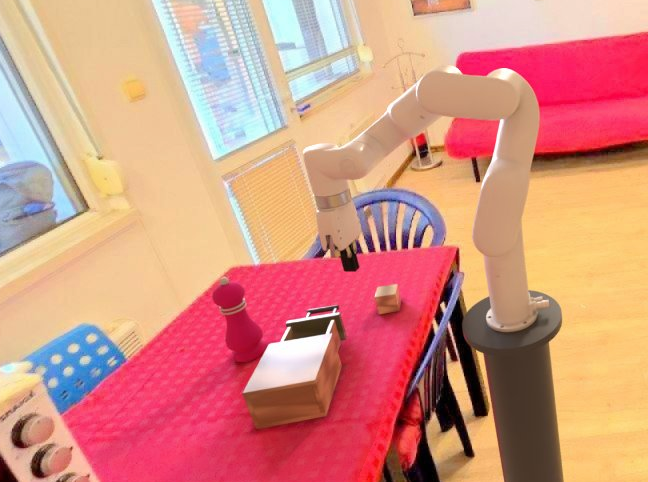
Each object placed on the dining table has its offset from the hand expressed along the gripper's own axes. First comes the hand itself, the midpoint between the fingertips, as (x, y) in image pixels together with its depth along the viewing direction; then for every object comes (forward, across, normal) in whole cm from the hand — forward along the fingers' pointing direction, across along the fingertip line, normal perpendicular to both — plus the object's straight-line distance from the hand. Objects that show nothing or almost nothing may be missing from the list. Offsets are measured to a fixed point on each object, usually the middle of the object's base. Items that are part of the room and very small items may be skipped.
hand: (351, 269), depth 124 cm
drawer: (+13, +13, -4) cm, 19 cm away
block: (+14, -5, +4) cm, 15 cm away
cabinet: (+14, +26, 0) cm, 29 cm away
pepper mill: (+14, +14, -21) cm, 29 cm away
